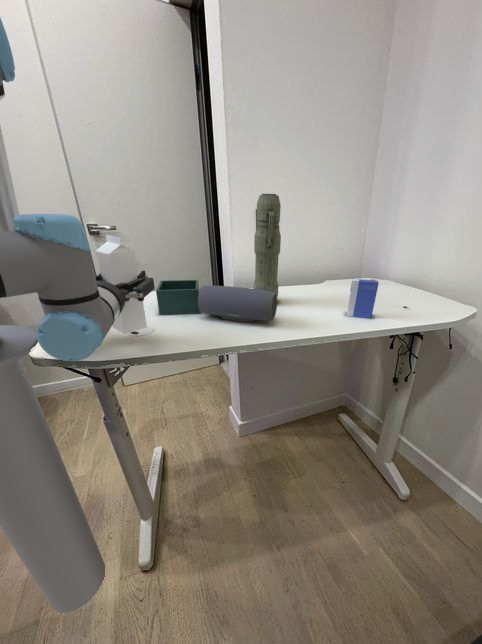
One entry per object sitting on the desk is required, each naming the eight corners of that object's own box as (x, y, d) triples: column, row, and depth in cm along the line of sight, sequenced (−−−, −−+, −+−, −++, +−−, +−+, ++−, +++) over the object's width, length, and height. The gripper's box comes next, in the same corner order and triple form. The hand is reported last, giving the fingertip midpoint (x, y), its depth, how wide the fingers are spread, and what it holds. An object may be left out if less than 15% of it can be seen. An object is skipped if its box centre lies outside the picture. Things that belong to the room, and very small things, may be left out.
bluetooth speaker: (276, 318, 92) (278, 287, 88) (270, 329, 84) (271, 295, 80) (210, 310, 97) (208, 280, 92) (198, 320, 89) (195, 287, 84)
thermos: (271, 296, 113) (276, 194, 97) (282, 306, 103) (289, 194, 87) (249, 297, 111) (250, 193, 95) (258, 307, 101) (260, 193, 84)
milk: (125, 334, 71) (105, 238, 60) (112, 328, 74) (91, 235, 63) (147, 327, 75) (132, 236, 65) (134, 321, 78) (118, 233, 68)
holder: (159, 314, 92) (155, 290, 88) (163, 302, 103) (160, 280, 99) (199, 313, 94) (198, 289, 91) (199, 301, 105) (198, 279, 102)
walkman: (370, 315, 97) (378, 279, 91) (371, 318, 94) (379, 281, 89) (346, 313, 98) (352, 277, 93) (346, 315, 96) (352, 279, 90)
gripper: (40, 327, 53) (83, 291, 73) (161, 322, 57) (170, 289, 76) (26, 286, 49) (75, 261, 69) (155, 284, 53) (167, 260, 73)
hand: (125, 276), depth 73 cm, fingers closed on milk, 8 cm apart
